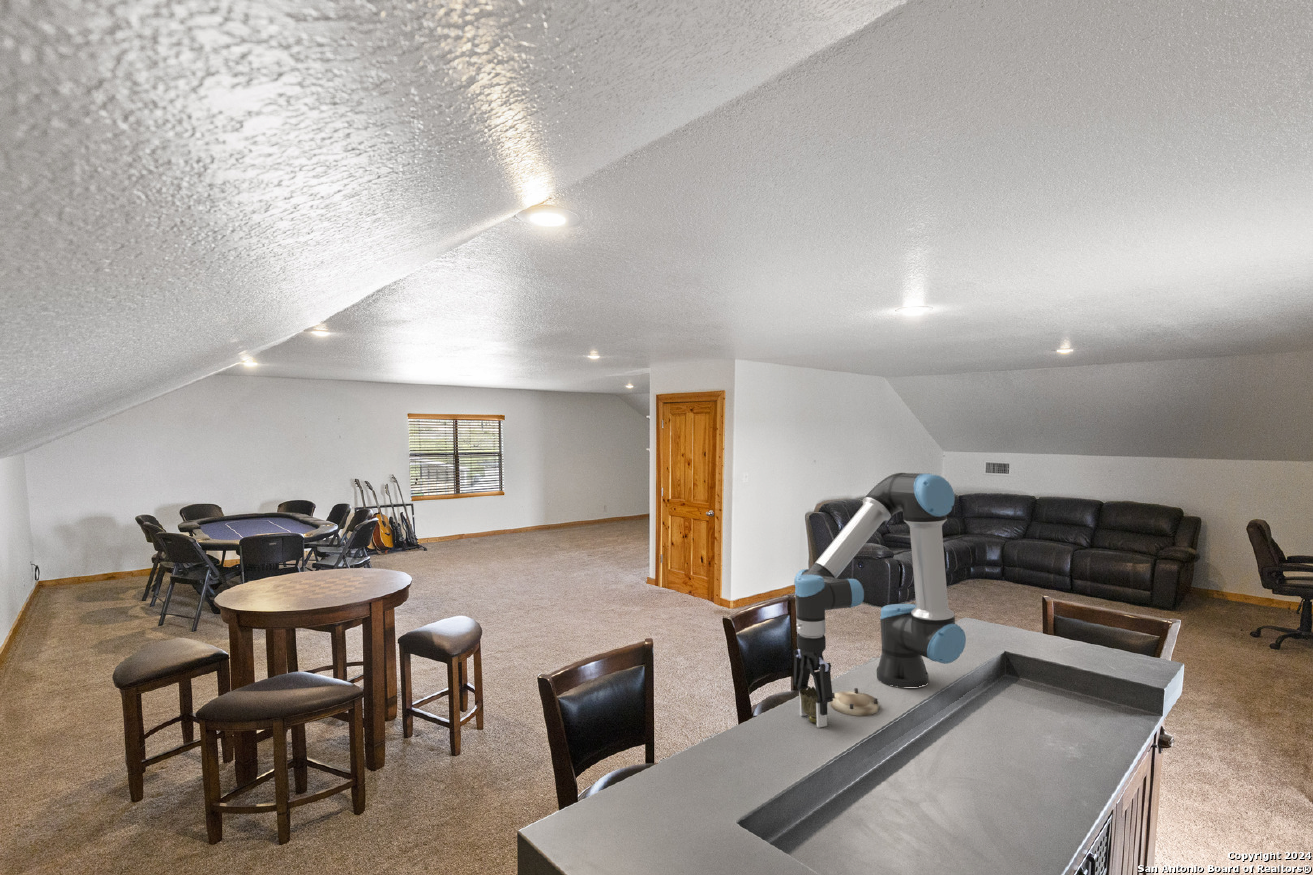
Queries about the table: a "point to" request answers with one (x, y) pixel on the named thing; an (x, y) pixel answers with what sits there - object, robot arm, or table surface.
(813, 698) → the ornate scalloped bell shade
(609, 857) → the table surface
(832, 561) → the robot arm
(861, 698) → the seat plate
